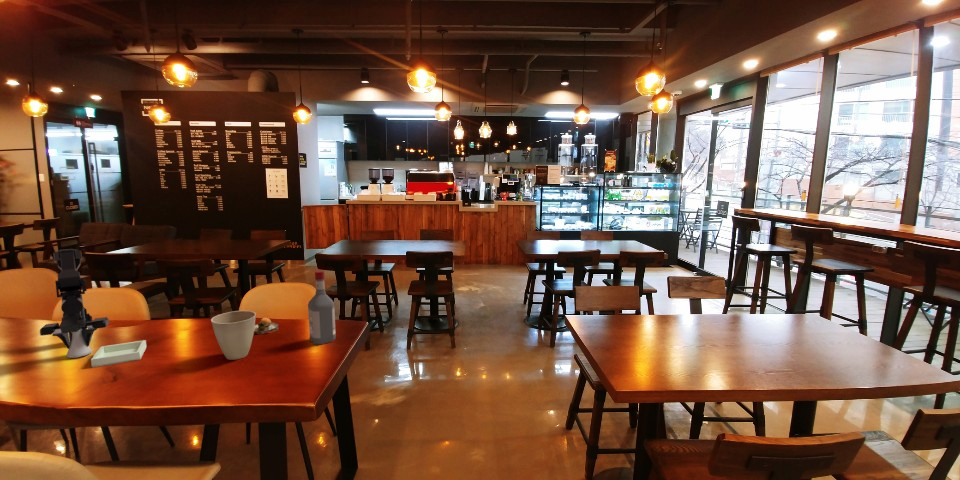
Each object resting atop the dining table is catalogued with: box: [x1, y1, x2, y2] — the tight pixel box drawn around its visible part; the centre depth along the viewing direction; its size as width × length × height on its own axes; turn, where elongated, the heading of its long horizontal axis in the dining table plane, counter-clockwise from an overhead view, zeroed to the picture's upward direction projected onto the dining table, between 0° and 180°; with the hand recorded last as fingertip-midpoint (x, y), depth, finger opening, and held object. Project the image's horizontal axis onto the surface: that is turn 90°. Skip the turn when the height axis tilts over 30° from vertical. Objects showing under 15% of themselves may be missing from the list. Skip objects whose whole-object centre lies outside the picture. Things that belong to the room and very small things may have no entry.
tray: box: [90, 339, 147, 368], centre depth 166 cm, size 14×14×3 cm
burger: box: [253, 317, 279, 335], centre depth 195 cm, size 12×12×8 cm
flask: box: [65, 329, 94, 359], centre depth 166 cm, size 7×7×10 cm
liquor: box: [307, 270, 337, 346], centre depth 181 cm, size 9×9×30 cm
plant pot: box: [210, 310, 257, 361], centre depth 166 cm, size 15×15×16 cm
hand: (78, 347), depth 166 cm, fingers closed on flask, 5 cm apart
